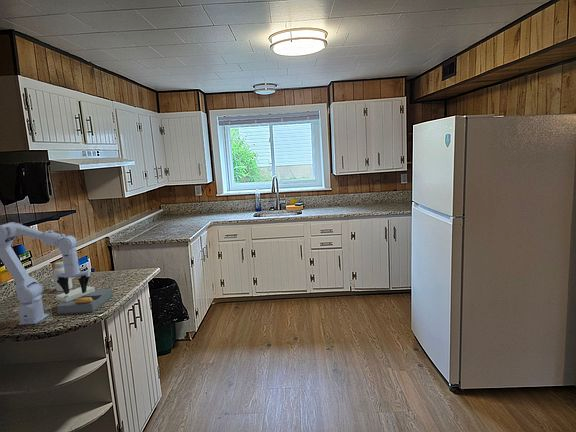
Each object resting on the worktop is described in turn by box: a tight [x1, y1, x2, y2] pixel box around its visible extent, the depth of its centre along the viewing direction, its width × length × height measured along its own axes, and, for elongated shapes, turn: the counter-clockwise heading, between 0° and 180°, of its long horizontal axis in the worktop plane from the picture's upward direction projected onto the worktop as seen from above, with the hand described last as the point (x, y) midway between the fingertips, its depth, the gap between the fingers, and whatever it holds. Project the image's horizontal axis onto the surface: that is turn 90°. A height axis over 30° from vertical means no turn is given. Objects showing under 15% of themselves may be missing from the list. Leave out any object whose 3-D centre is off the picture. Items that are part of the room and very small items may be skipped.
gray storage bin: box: [56, 288, 114, 315], centre depth 186 cm, size 20×16×4 cm
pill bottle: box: [52, 260, 73, 292], centre depth 211 cm, size 8×8×15 cm
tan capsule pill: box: [75, 297, 92, 303], centre depth 177 cm, size 2×7×2 cm, turn 89°
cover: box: [55, 285, 96, 302], centre depth 188 cm, size 8×14×2 cm, turn 150°
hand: (75, 292), depth 172 cm, fingers open, 7 cm apart
